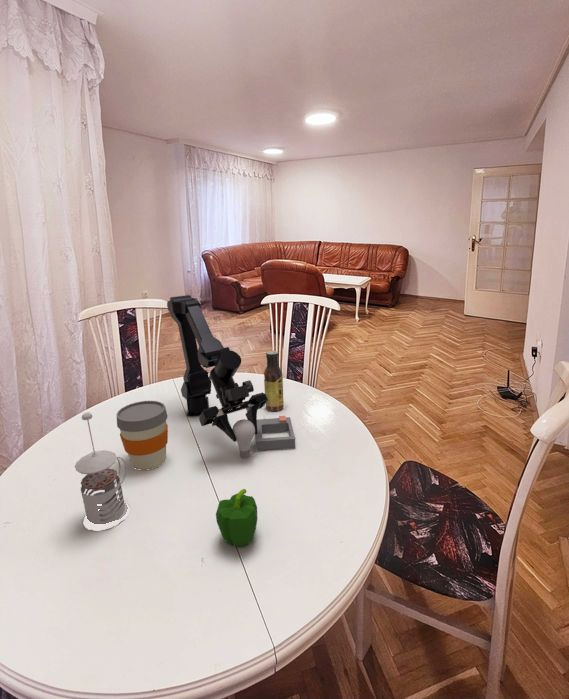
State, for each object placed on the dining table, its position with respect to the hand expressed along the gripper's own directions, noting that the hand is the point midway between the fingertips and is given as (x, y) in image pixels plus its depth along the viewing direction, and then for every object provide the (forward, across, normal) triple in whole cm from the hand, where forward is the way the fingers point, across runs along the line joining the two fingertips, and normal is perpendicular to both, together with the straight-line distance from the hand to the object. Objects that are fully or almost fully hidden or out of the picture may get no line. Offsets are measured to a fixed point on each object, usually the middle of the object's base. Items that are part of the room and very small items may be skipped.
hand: (246, 437), depth 105 cm
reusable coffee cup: (-6, -22, +16) cm, 28 cm away
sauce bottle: (-11, +22, +21) cm, 32 cm away
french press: (+5, -35, +5) cm, 36 cm away
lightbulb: (+4, 0, +6) cm, 7 cm away
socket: (+1, +12, +8) cm, 15 cm away
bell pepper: (+22, -14, -12) cm, 29 cm away
